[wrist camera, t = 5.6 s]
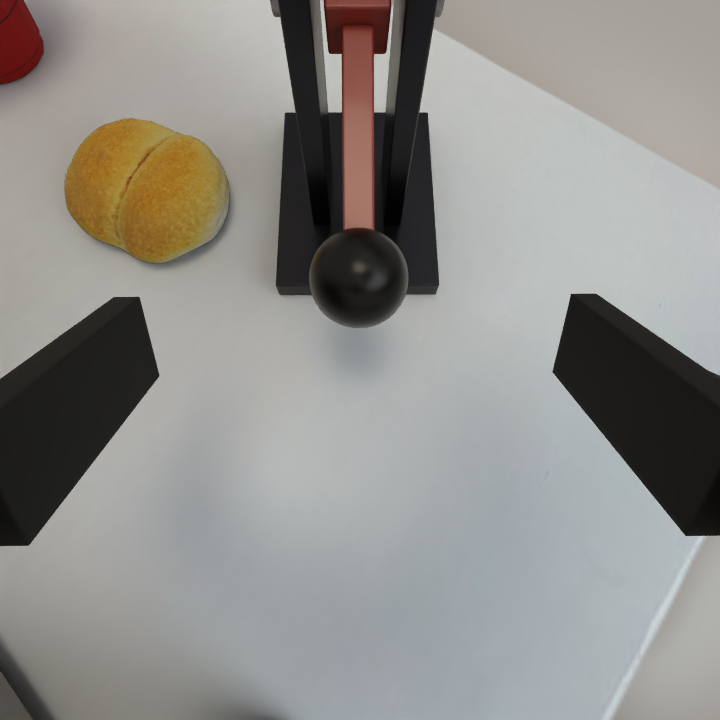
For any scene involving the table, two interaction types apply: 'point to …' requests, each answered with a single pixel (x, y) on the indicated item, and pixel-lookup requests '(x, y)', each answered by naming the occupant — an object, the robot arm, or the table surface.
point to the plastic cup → (17, 41)
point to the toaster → (11, 703)
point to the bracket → (325, 157)
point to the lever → (358, 181)
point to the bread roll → (147, 190)
